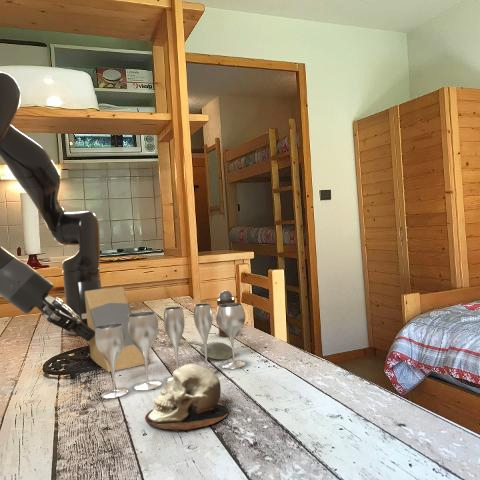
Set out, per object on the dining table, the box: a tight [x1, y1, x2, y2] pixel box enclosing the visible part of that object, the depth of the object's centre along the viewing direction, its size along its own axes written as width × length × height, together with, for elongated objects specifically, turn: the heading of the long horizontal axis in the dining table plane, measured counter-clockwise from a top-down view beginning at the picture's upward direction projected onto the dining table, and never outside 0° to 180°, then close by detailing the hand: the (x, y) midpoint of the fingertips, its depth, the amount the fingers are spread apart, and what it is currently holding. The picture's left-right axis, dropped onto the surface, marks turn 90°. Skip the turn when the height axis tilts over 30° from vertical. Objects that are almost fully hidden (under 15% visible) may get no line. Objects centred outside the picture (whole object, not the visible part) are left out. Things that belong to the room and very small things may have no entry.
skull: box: [144, 363, 229, 432], centre depth 77 cm, size 12×10×10 cm
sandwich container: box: [85, 286, 150, 373], centre depth 111 cm, size 9×15×15 cm, turn 37°
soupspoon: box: [169, 339, 232, 360], centre depth 115 cm, size 22×3×7 cm
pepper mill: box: [216, 289, 236, 338], centre depth 129 cm, size 4×4×11 cm
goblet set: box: [95, 302, 247, 400], centre depth 96 cm, size 28×6×13 cm, turn 126°
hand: (92, 337), depth 109 cm, fingers closed
